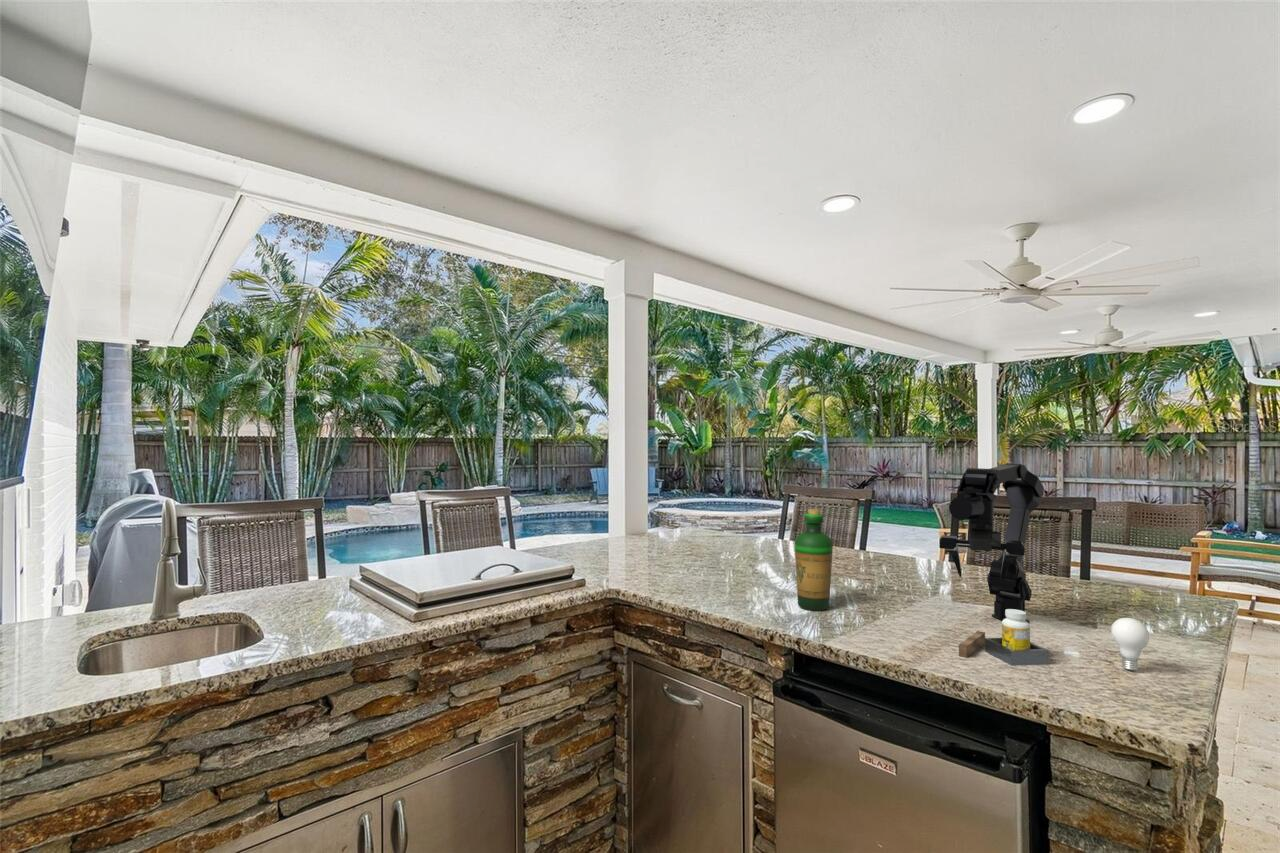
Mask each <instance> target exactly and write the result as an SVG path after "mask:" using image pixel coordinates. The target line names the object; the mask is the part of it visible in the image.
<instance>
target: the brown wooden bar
mask: <svg viewBox="0 0 1280 853" xmlns="http://www.w3.org/2000/svg"><path fill="white" fill-rule="evenodd" d="M985 638H986V632H984V631H979V630H977V631H975V632H974V633H973V634H972V635H970V636H969V637H966V639H964V640H963V641H962V642H960V643H959V644H958V656H959V657H962V658H965V659H967V658H968V657H970V656H971V655H972V654H973V653H975V652H976V651H977V650H979V649H980V648H981V647H982V646H984V645H985Z"/></svg>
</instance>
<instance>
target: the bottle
mask: <svg viewBox="0 0 1280 853" xmlns="http://www.w3.org/2000/svg"><path fill="white" fill-rule="evenodd" d="M803 522H804V523H805V528H806V529H805V530H804V531H802V532H800V533H799V534H797V536H796V538H795V539H794V553H795V554H794V555H795V570H796V571H795V574H796V592H797V593H796V595H797V596H796V597H797V605H798V607H800V608H801V609H803V610H807V611H811V612H812V611H813V612H822V611H826V610H827V609H829V608H830V598H831V597H830V595H831V582H832V581H831V580H832V565H833V552H834V550H833V549H834V548H833V547H834V542H833V541H832V539H831V538H830V536H828V535H827V534H826V533H825V532H824V531H822V524H823V523H825V522H824V518H823V513H820V509H819V508H808V509H807V513H805V514H804V520H803Z"/></svg>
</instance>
